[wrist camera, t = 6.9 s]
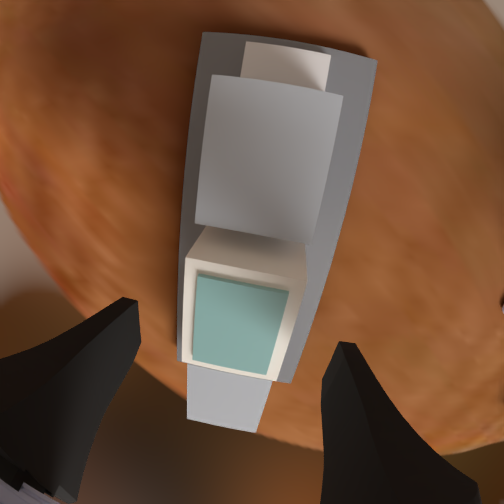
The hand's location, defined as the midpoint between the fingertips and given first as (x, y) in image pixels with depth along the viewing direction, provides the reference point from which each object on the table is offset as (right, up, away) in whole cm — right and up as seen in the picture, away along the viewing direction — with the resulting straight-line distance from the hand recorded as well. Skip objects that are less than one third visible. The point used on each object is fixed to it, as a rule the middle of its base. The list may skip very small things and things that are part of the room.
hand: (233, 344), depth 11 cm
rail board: (+1, +4, +6) cm, 8 cm away
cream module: (+1, +3, +5) cm, 6 cm away
